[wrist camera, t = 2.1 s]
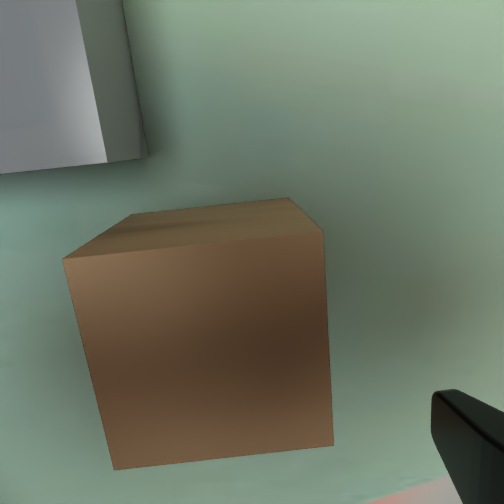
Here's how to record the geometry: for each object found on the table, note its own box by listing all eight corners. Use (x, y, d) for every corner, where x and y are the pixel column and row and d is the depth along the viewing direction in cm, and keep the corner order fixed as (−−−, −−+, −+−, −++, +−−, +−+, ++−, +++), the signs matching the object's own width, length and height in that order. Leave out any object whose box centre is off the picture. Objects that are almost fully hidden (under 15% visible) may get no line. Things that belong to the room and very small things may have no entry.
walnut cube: (299, 338, 16) (333, 445, 10) (158, 353, 16) (114, 470, 10) (288, 197, 15) (323, 231, 9) (131, 214, 14) (62, 259, 9)
